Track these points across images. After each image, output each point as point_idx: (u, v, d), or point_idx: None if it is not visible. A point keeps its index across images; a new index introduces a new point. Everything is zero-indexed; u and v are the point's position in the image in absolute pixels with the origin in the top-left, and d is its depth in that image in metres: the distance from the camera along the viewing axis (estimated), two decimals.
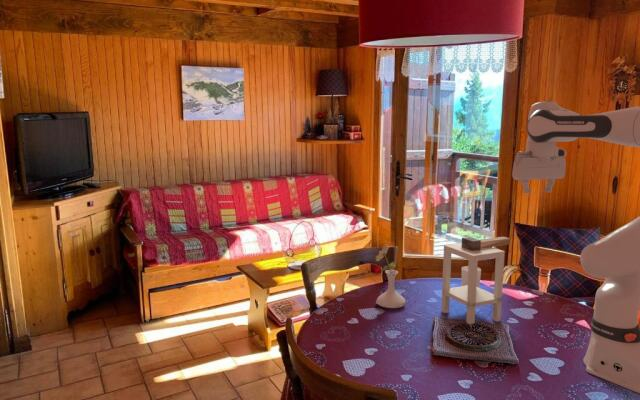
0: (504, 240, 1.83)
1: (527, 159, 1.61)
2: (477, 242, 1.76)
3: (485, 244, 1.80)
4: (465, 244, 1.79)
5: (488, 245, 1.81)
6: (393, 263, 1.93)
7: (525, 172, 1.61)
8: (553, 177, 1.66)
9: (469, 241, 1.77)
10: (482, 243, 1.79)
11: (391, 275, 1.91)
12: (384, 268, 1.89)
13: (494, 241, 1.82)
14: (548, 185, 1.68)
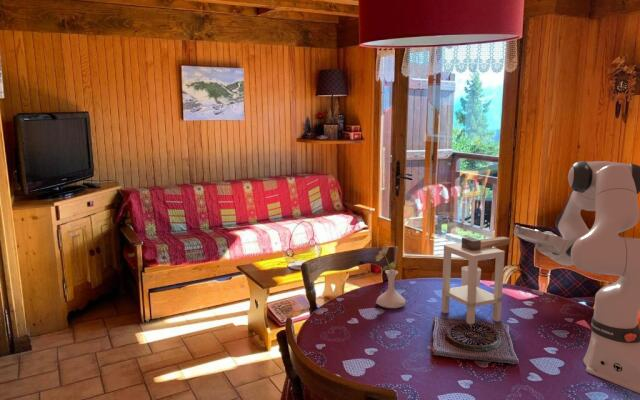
0: (504, 240, 1.83)
1: None
2: (477, 242, 1.76)
3: (485, 244, 1.80)
4: (465, 244, 1.79)
5: (488, 245, 1.81)
6: (393, 263, 1.93)
7: None
8: (546, 233, 1.87)
9: (469, 241, 1.77)
10: (482, 243, 1.79)
11: (391, 275, 1.91)
12: (384, 268, 1.89)
13: (494, 241, 1.82)
14: None
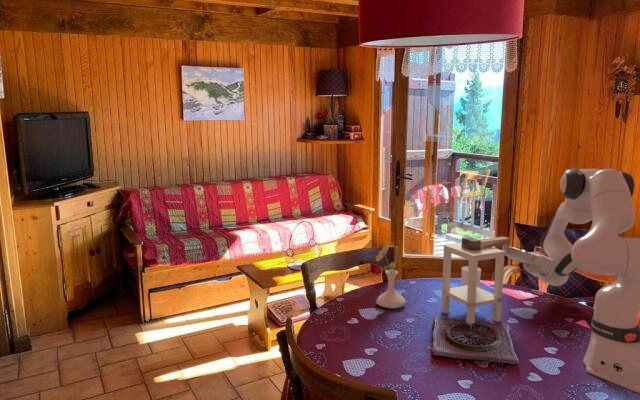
0: (504, 240, 1.83)
1: None
2: (477, 242, 1.76)
3: (485, 244, 1.80)
4: (465, 244, 1.79)
5: (488, 245, 1.81)
6: (393, 263, 1.93)
7: None
8: (533, 253, 1.86)
9: (469, 241, 1.77)
10: (482, 243, 1.79)
11: (391, 275, 1.91)
12: (384, 268, 1.89)
13: (494, 241, 1.82)
14: None
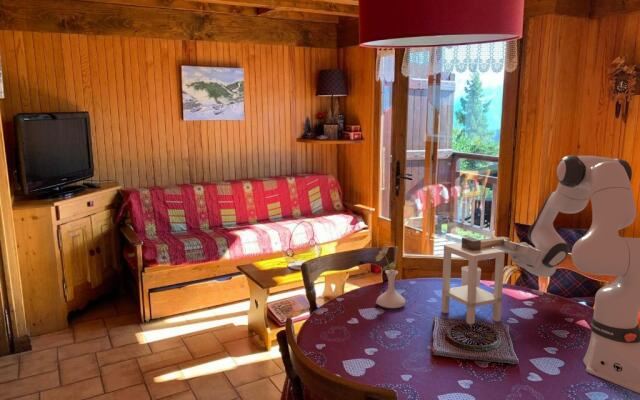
0: None
1: None
2: (477, 242, 1.76)
3: (485, 244, 1.80)
4: (465, 244, 1.79)
5: (488, 245, 1.81)
6: (393, 263, 1.93)
7: None
8: (520, 244, 1.82)
9: (469, 241, 1.77)
10: (482, 243, 1.79)
11: (391, 275, 1.91)
12: (384, 268, 1.89)
13: (494, 241, 1.82)
14: None
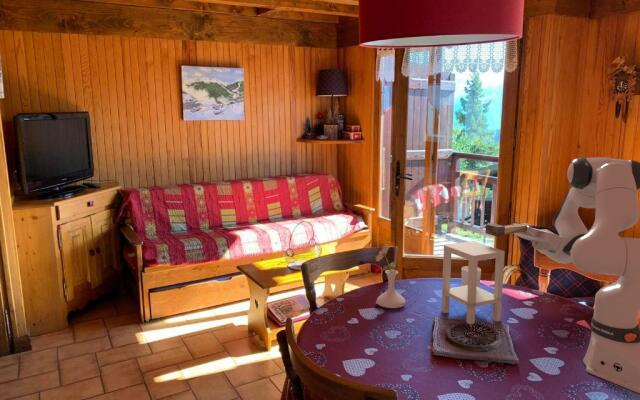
0: None
1: None
2: (501, 228, 1.80)
3: (508, 230, 1.84)
4: (489, 230, 1.83)
5: (511, 231, 1.84)
6: (393, 263, 1.93)
7: None
8: (542, 230, 1.86)
9: (493, 227, 1.81)
10: (506, 229, 1.83)
11: (391, 275, 1.91)
12: (384, 268, 1.89)
13: (517, 227, 1.85)
14: None
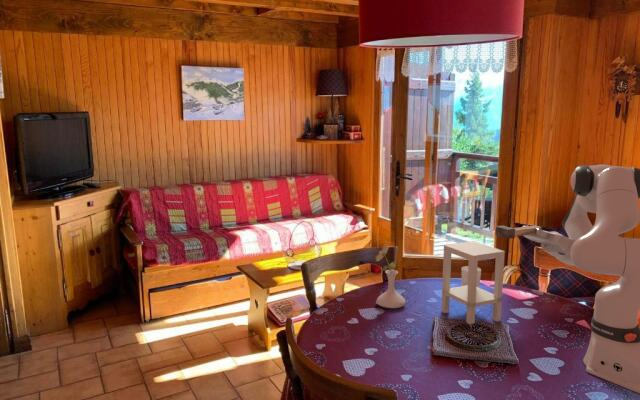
0: None
1: None
2: (511, 230, 1.82)
3: (518, 233, 1.86)
4: (499, 232, 1.85)
5: (521, 233, 1.87)
6: (393, 263, 1.93)
7: None
8: (552, 232, 1.88)
9: (504, 229, 1.83)
10: (516, 231, 1.85)
11: (391, 275, 1.91)
12: (384, 268, 1.89)
13: (527, 230, 1.88)
14: None
